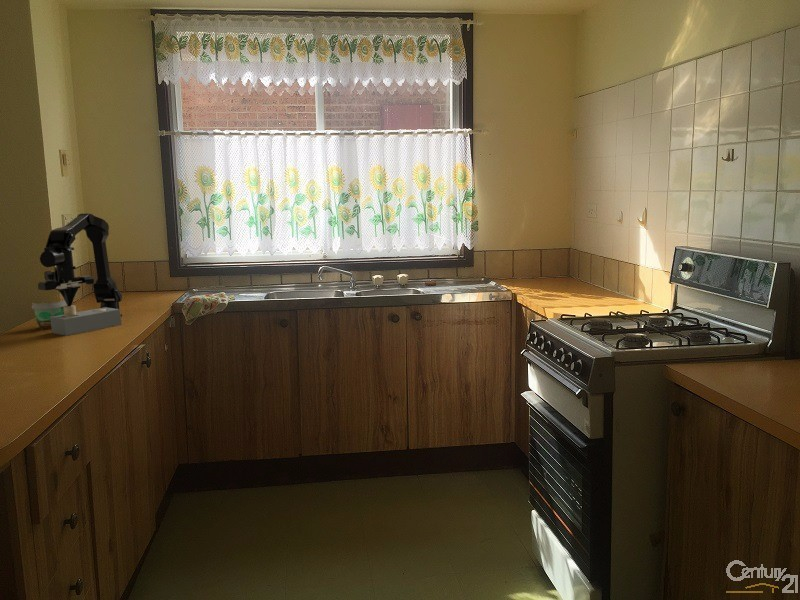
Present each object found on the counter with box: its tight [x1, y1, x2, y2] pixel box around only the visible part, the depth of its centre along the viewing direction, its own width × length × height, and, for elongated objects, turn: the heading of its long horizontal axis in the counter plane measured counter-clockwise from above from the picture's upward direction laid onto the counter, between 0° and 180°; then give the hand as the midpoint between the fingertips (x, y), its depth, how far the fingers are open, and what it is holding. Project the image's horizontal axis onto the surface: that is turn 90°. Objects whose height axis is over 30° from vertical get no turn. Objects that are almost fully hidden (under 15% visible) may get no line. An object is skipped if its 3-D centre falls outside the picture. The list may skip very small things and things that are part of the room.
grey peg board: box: [50, 307, 122, 337], centre depth 268 cm, size 22×10×6 cm, turn 143°
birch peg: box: [63, 304, 77, 317], centre depth 263 cm, size 4×4×6 cm
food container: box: [31, 299, 67, 330], centre depth 272 cm, size 12×6×10 cm, turn 105°
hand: (69, 305), depth 263 cm, fingers closed
